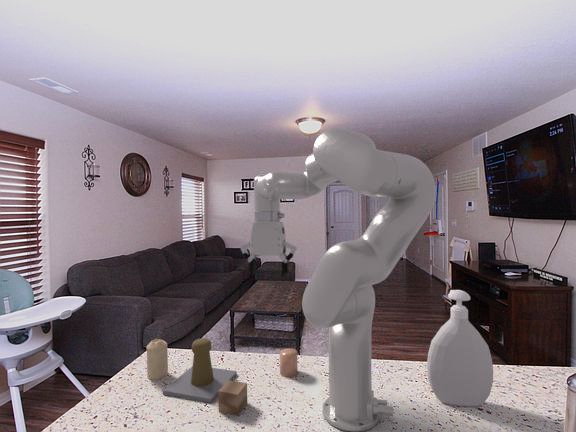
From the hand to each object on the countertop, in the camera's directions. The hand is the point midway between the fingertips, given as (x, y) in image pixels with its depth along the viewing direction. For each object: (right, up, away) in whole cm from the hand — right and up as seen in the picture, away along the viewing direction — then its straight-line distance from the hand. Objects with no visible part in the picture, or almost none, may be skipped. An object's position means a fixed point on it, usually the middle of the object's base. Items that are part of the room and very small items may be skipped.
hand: (268, 275), depth 97 cm
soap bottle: (+47, -27, -18) cm, 57 cm away
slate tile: (-18, -28, -9) cm, 34 cm away
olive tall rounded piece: (-17, -27, -9) cm, 33 cm away
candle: (-32, -28, -3) cm, 43 cm away
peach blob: (+6, -27, -3) cm, 28 cm away
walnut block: (-7, -28, -19) cm, 35 cm away
